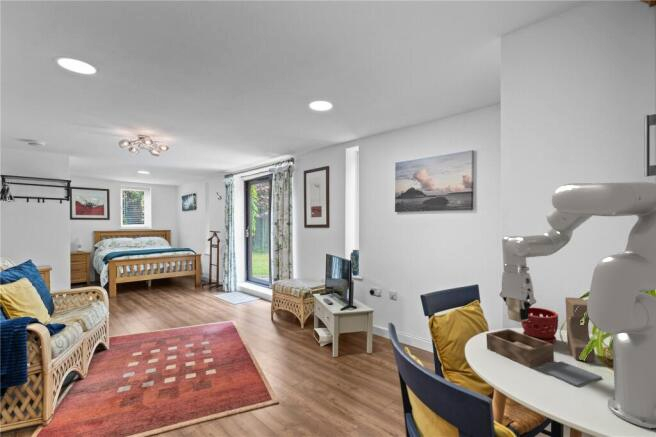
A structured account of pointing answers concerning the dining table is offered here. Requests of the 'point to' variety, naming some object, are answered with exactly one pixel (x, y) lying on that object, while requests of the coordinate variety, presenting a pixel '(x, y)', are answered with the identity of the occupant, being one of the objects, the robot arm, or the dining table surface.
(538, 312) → the plant pot
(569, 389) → the dining table surface
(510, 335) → the walnut box
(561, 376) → the mat
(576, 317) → the decorative block
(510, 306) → the maple block
